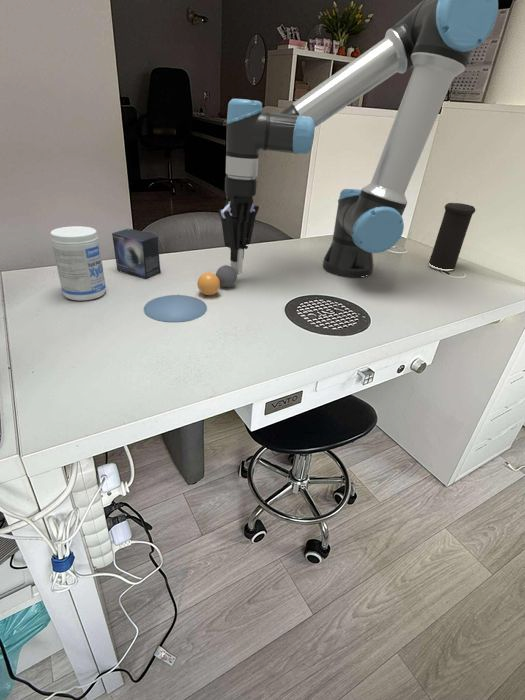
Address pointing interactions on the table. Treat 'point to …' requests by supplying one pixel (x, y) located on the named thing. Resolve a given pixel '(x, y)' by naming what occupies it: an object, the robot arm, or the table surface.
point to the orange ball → (208, 283)
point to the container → (451, 235)
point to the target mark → (175, 308)
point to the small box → (136, 253)
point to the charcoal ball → (226, 276)
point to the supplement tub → (78, 262)
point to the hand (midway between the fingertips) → (236, 272)
